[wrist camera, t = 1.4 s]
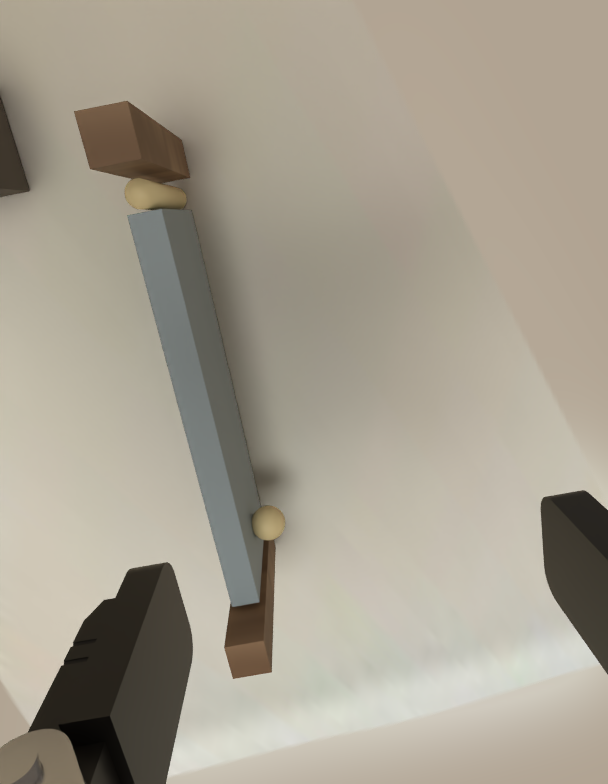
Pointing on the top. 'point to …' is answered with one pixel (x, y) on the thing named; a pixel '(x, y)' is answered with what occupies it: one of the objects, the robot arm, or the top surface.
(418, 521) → the top surface
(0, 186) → the block
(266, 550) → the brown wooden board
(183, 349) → the door
